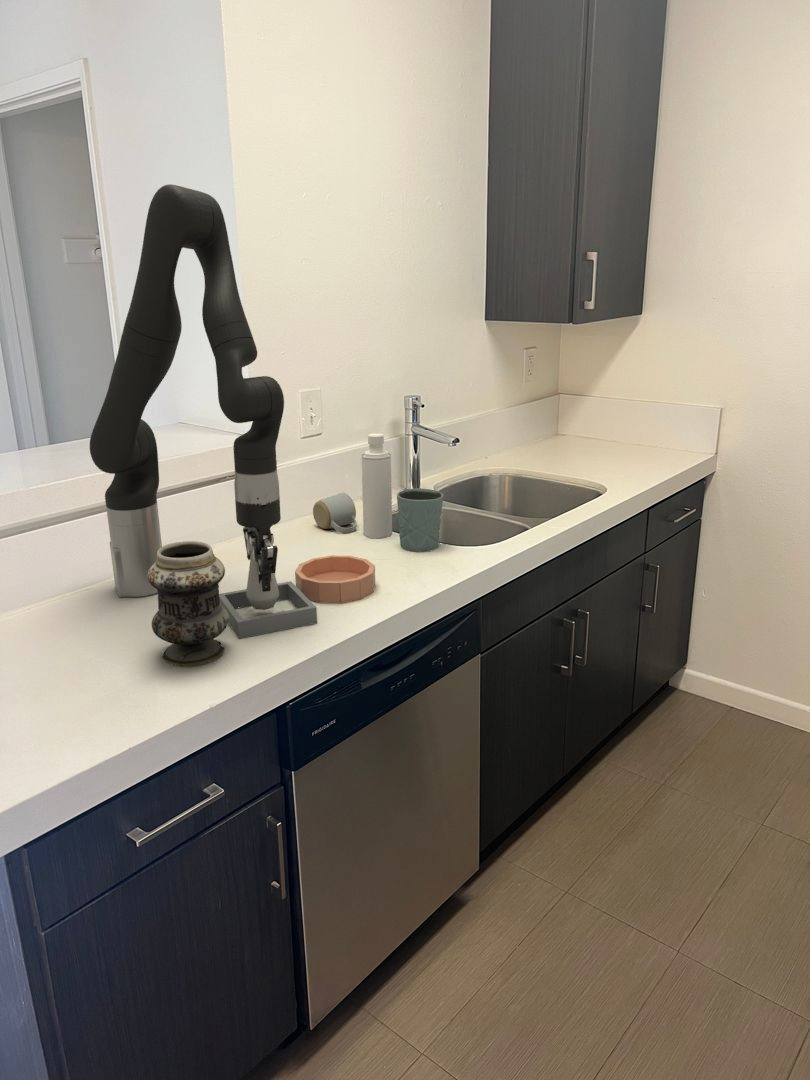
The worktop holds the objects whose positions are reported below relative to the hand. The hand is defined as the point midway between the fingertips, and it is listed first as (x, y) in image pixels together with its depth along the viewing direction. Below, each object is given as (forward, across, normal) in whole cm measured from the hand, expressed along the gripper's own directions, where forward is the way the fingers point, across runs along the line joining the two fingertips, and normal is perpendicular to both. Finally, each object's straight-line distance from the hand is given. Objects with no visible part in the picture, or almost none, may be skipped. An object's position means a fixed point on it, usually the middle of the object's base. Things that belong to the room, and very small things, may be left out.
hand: (262, 589), depth 146 cm
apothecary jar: (+6, +9, -14) cm, 18 cm away
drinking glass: (+5, -22, +42) cm, 48 cm away
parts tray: (+5, 0, 0) cm, 5 cm away
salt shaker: (+3, 0, 0) cm, 3 cm away
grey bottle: (+5, -34, +37) cm, 51 cm away
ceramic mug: (+6, -43, +31) cm, 53 cm away
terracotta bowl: (+5, -7, +16) cm, 19 cm away
